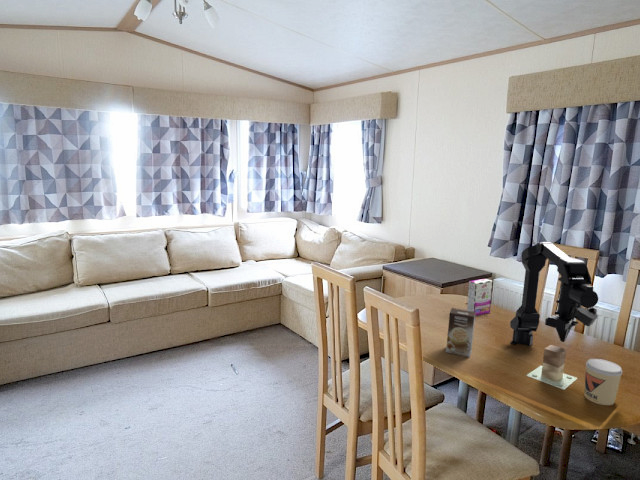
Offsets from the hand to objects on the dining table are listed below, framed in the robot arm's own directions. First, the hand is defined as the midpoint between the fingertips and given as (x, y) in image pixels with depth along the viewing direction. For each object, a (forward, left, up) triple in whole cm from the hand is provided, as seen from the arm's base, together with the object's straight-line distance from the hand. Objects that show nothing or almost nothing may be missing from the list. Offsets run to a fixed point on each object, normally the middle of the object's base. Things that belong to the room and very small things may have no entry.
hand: (562, 341), depth 148 cm
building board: (0, -5, -13) cm, 13 cm away
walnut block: (0, -5, -7) cm, 8 cm away
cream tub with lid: (+15, -8, -13) cm, 21 cm away
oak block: (0, -5, -12) cm, 12 cm away
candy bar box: (-50, +37, -13) cm, 64 cm away
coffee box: (-32, -10, -13) cm, 36 cm away
